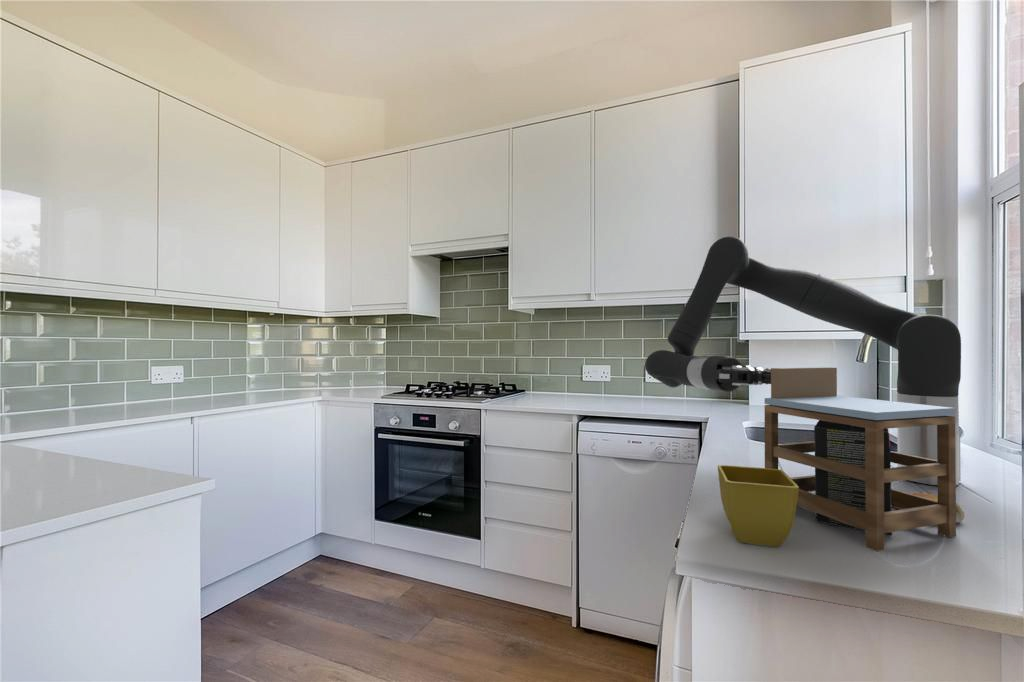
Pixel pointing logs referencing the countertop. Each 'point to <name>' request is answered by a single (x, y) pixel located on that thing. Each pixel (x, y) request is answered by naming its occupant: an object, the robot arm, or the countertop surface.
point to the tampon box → (849, 449)
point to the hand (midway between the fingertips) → (783, 378)
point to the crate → (875, 475)
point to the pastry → (959, 510)
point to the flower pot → (758, 503)
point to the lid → (837, 397)
